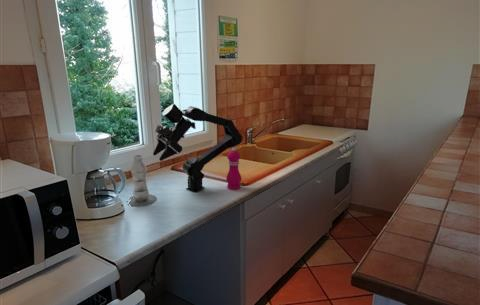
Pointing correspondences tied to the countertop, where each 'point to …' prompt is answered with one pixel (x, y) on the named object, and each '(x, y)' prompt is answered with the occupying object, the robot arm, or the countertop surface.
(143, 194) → the silver bottle
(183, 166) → the robot arm
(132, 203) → the round gray disc
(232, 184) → the pepper mill
